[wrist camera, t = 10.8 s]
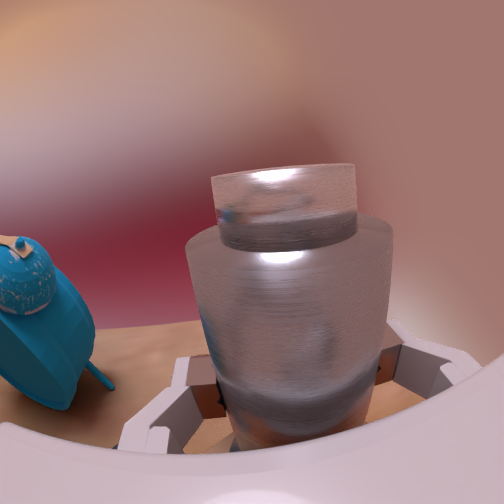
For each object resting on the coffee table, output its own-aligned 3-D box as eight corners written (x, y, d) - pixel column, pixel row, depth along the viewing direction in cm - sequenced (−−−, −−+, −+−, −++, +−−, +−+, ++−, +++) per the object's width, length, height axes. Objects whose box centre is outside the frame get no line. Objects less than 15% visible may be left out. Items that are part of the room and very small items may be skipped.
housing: (306, 538, 6) (341, 181, 2) (205, 462, 11) (106, 197, 7) (388, 440, 11) (441, 163, 6) (291, 396, 16) (271, 166, 11)
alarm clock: (137, 373, 25) (76, 177, 18) (99, 448, 15) (-21, 200, 9) (41, 358, 26) (-12, 214, 20) (1, 405, 16) (-74, 240, 10)
